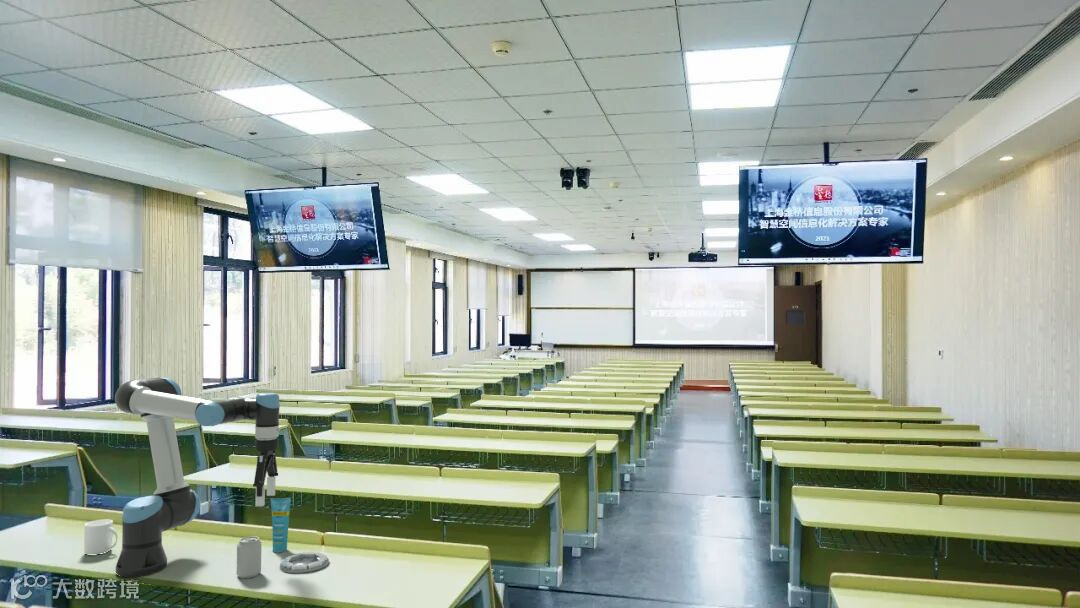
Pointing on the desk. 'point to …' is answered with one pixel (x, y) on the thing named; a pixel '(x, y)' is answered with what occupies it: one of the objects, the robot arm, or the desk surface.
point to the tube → (280, 523)
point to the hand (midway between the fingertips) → (265, 500)
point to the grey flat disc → (304, 563)
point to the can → (249, 557)
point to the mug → (99, 536)
